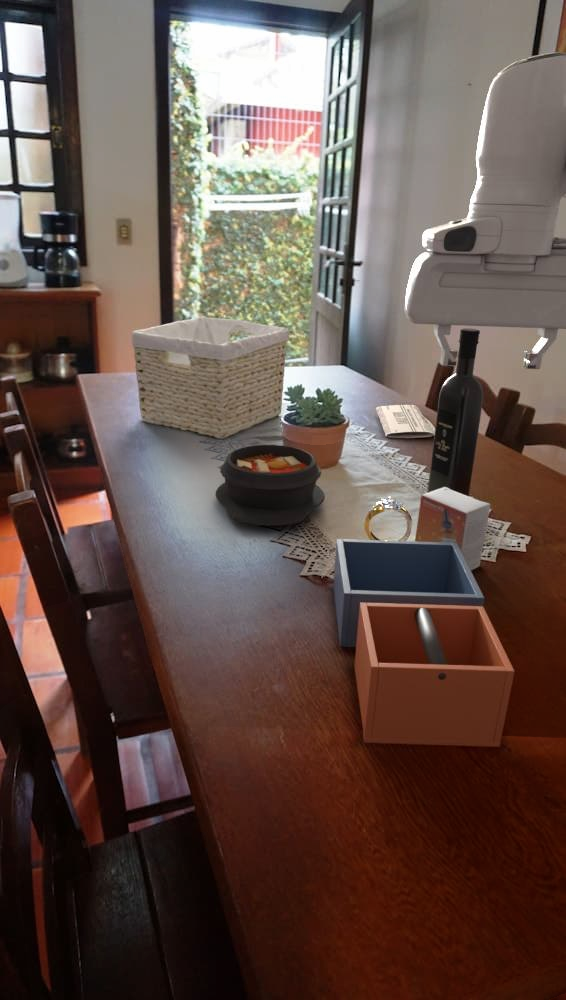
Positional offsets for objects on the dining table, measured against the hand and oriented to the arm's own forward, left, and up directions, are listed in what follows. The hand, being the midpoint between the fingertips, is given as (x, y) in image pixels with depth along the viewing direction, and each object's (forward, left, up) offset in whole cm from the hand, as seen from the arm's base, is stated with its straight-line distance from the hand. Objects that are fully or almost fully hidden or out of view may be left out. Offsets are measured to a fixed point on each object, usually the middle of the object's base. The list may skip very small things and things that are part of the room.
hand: (489, 366), depth 77 cm
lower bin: (+8, +5, -31) cm, 32 cm away
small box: (-1, -10, -31) cm, 33 cm away
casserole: (+25, -30, -31) cm, 50 cm away
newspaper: (-6, -80, -31) cm, 86 cm away
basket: (+40, -79, -31) cm, 94 cm away
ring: (+7, -15, -31) cm, 35 cm away
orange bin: (+8, +21, -31) cm, 38 cm away
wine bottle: (-6, -33, -31) cm, 46 cm away
